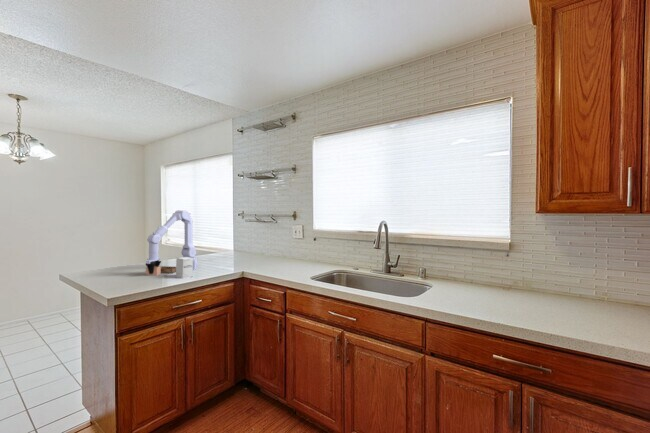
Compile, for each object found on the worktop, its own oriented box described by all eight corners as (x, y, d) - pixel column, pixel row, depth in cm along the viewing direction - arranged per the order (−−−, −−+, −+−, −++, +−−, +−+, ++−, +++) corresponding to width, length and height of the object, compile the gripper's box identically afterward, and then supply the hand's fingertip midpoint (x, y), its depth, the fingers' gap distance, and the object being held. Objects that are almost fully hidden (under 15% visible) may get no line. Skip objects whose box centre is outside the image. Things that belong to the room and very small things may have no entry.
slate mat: (175, 271, 216) (176, 270, 216) (164, 276, 199) (164, 275, 199) (157, 270, 215) (157, 270, 215) (144, 275, 198) (144, 275, 198)
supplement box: (182, 278, 194) (182, 259, 193) (175, 277, 198) (176, 257, 197) (192, 276, 200) (193, 257, 200) (186, 275, 204) (186, 256, 204)
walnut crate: (178, 270, 216) (178, 266, 216) (172, 273, 206) (172, 269, 206) (161, 270, 215) (162, 266, 215) (155, 273, 206) (155, 268, 206)
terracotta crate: (160, 273, 205) (160, 266, 205) (156, 275, 200) (157, 267, 200) (149, 273, 204) (150, 266, 204) (145, 275, 199) (146, 267, 199)
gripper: (153, 250, 209) (152, 270, 209) (141, 253, 194) (141, 274, 195) (163, 251, 209) (163, 270, 209) (152, 254, 195) (152, 275, 195)
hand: (153, 272), depth 202 cm, fingers closed on terracotta crate, 5 cm apart
